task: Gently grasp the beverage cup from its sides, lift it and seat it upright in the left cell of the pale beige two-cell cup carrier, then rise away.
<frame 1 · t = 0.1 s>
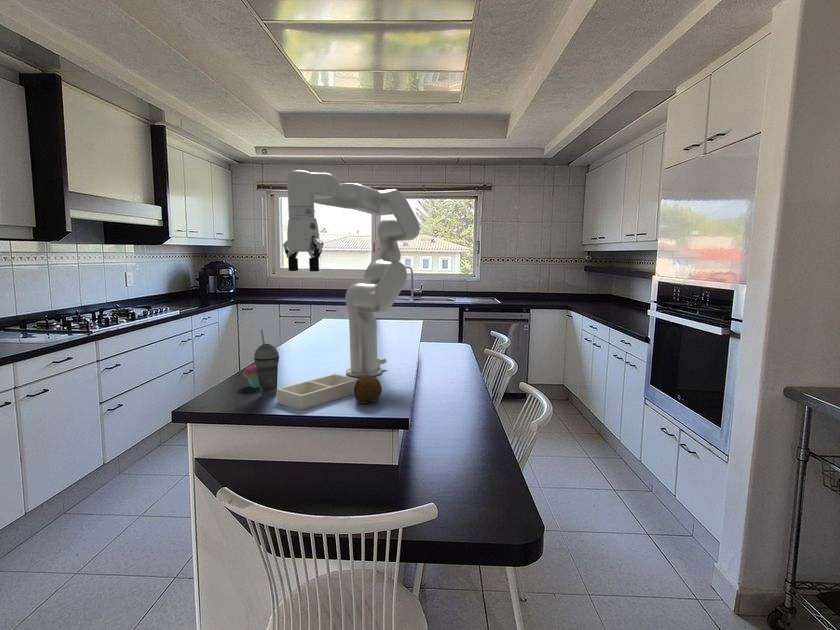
hand: (303, 271, 144), 37 cm above the table, tool pointing down, fingers open, 9 cm apart
potato: (368, 402, 134), on the table
beverage cup: (268, 395, 142), on the table
cup carrier: (320, 397, 139), on the table
cupcake: (258, 386, 152), on the table
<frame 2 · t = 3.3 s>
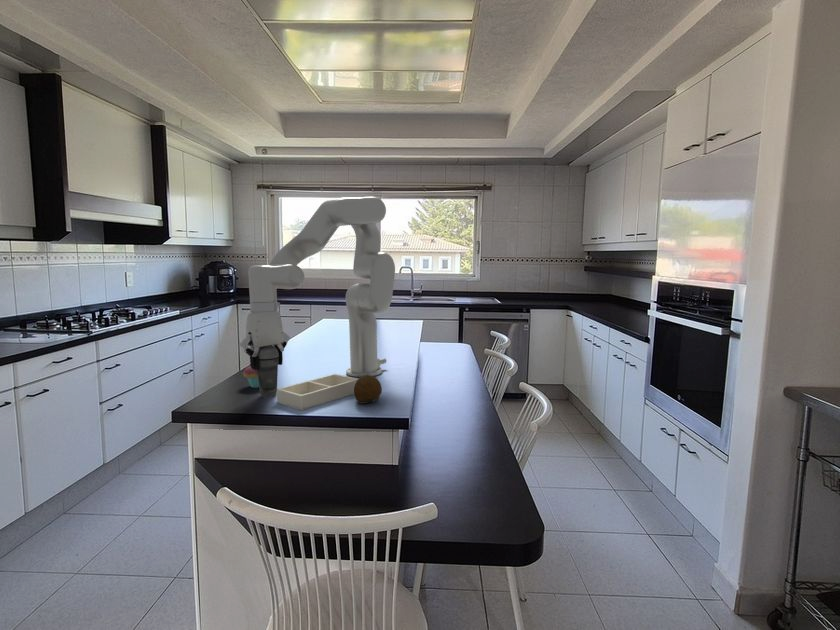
hand: (267, 366, 141), 9 cm above the table, tool pointing down, fingers closed on beverage cup, 7 cm apart
beverage cup: (268, 395, 142), on the table, touching gripper
everything else where it was.
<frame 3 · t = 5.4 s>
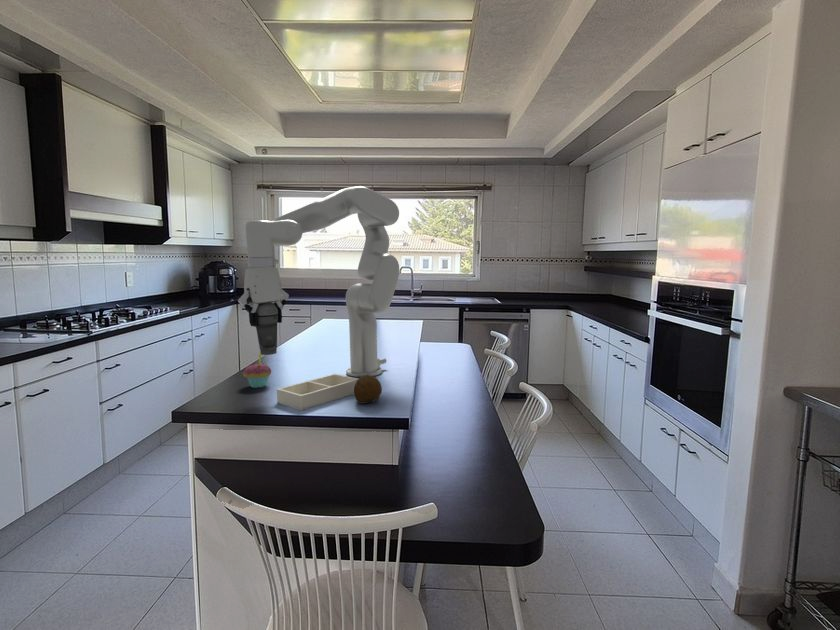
hand: (266, 323, 139), 22 cm above the table, tool pointing down, fingers closed on beverage cup, 7 cm apart
beverage cup: (268, 353, 141), point 13 cm above the table, touching gripper
everything else where it was.
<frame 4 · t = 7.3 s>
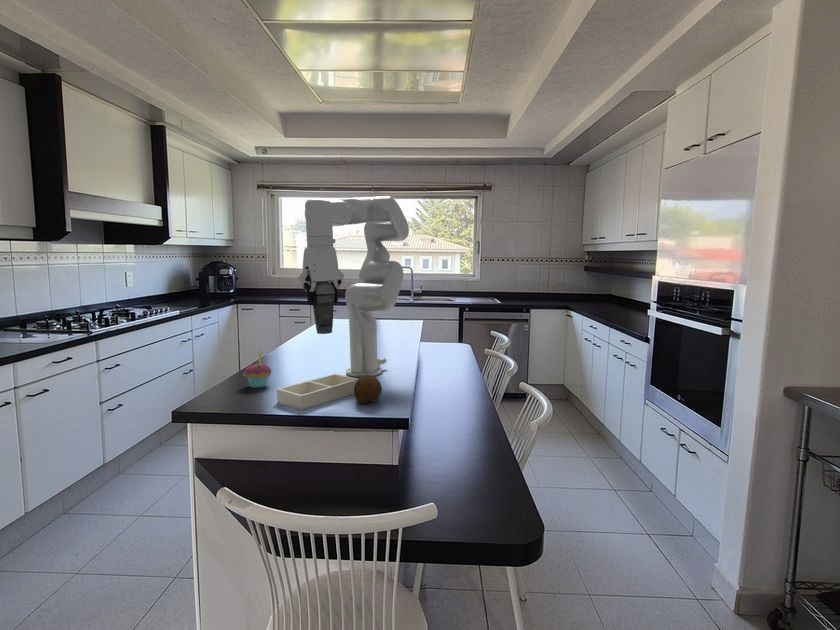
hand: (323, 303, 140), 27 cm above the table, tool pointing down, fingers closed on beverage cup, 7 cm apart
beverage cup: (324, 333, 141), point 18 cm above the table, touching gripper
everything else where it was.
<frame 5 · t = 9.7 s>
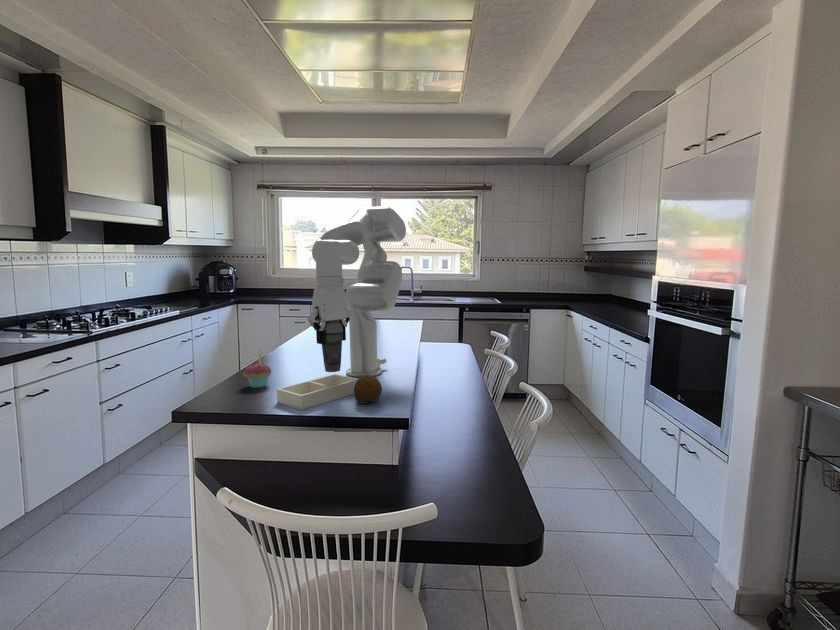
hand: (331, 341, 141), 16 cm above the table, tool pointing down, fingers closed on beverage cup, 7 cm apart
beverage cup: (332, 371, 142), point 7 cm above the table, touching gripper
everything else where it was.
when the fingers open (11 cm above the table, at t = 11.3 s): beverage cup drops 2 cm, resting on cup carrier.
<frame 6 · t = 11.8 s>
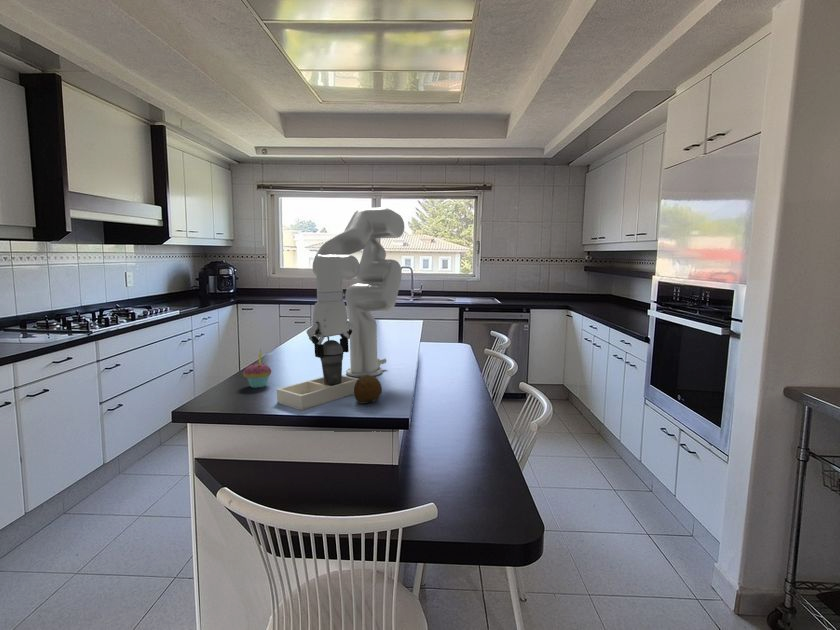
hand: (332, 354, 142), 12 cm above the table, tool pointing down, fingers open, 9 cm apart
beverage cup: (333, 391, 143), resting on cup carrier
everything else where it was.
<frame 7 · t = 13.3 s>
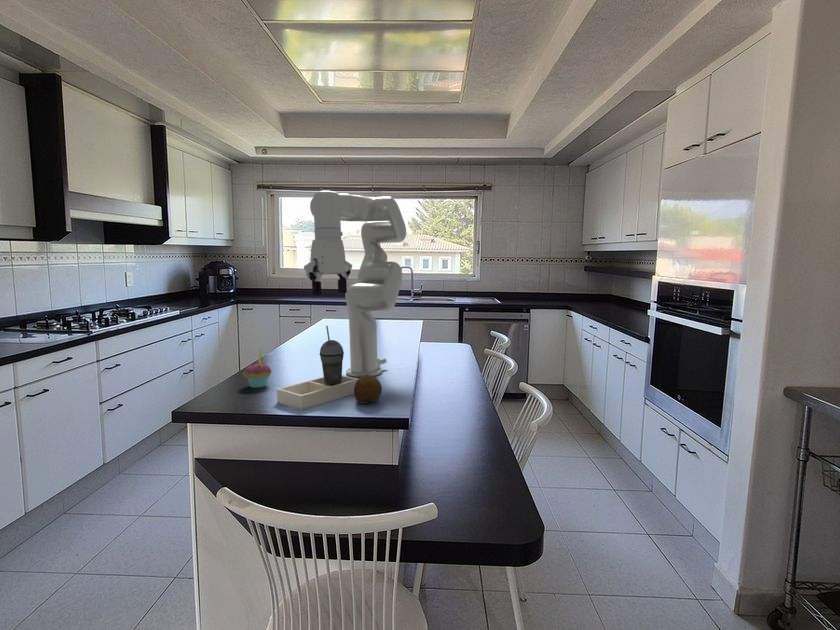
hand: (330, 293, 140), 30 cm above the table, tool pointing down, fingers open, 9 cm apart
nothing on the table moved.
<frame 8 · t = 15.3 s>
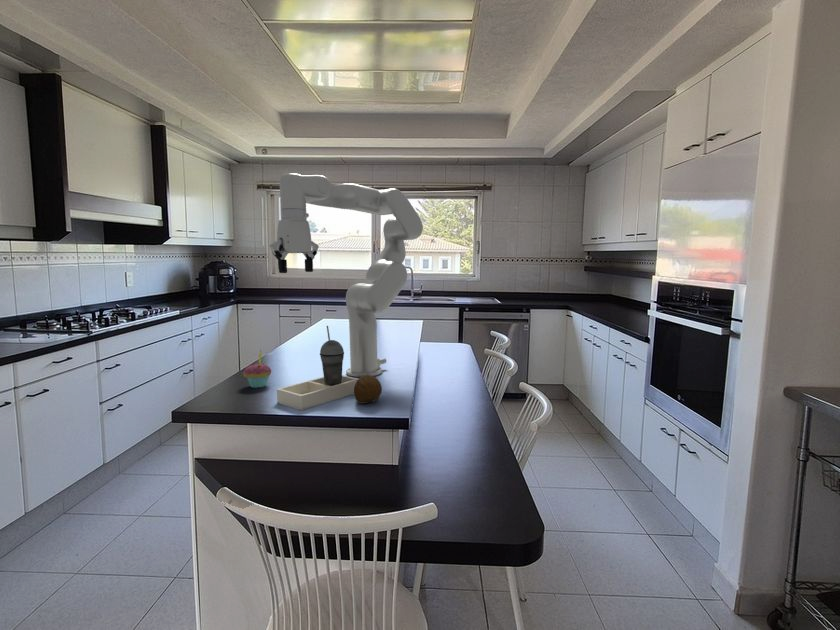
hand: (296, 272, 146), 36 cm above the table, tool pointing down, fingers open, 9 cm apart
nothing on the table moved.
at the end: beverage cup 0.1 cm from the target spot on the cup carrier, point 0.4 cm above the cup carrier's base; beverage cup tilted 0°; the gripper is holding nothing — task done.
